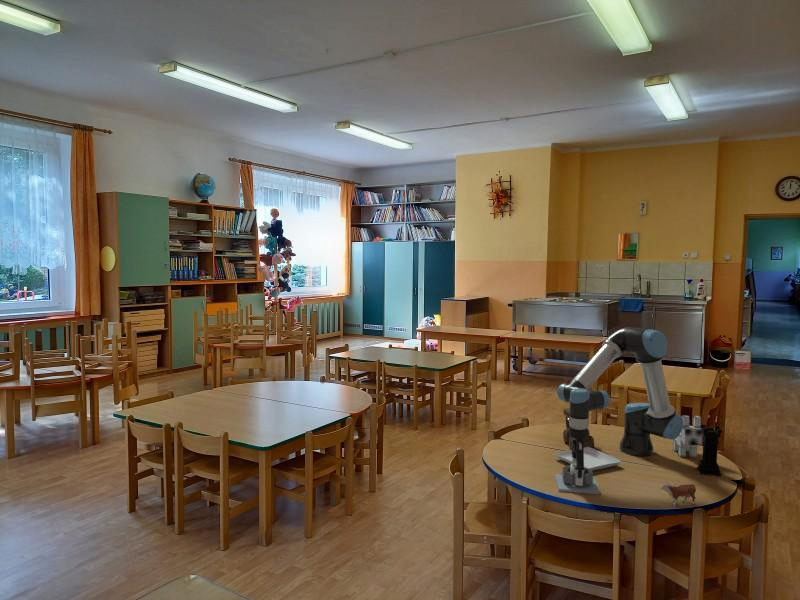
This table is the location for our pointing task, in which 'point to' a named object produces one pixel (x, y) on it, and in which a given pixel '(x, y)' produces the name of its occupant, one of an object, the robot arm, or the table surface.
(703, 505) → the table surface
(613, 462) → the salad plate
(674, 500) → the bull figurine
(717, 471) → the chess piece
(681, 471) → the table surface
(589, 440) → the wooden toy train
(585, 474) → the ring
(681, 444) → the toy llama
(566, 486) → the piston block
